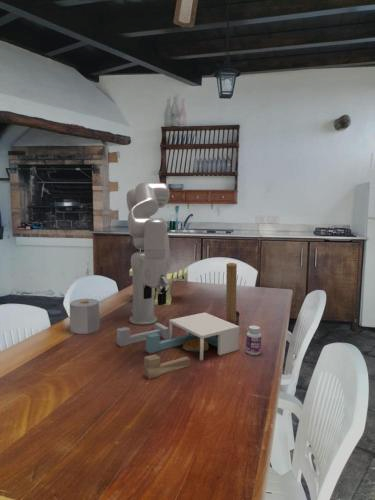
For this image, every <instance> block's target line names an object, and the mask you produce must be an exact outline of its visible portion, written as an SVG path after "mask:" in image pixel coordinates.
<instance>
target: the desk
mask: <svg viewBox="0 0 375 500" xmlns="http://www.w3.org/2000/svg"><path fill="white" fill-rule="evenodd" d="M225 320H226V319H225ZM225 320H224V319H221V318H219V317H217V316H214V315H213V314H210V313H208V312H200V313H196V314H191V315H185V316H182V317H176V318H170V319H168V323H169V338H168V339H172V338H174V337H173V336H174V334H173V333H174V332H173V331H174V329H173V328H174V326H175V327H178V328H180V329H182V330H184V331H185V332H186V335H188V334H193V335H195V336H197V337H199V338H200V351H199V361H204V352H205V351H204V338H207V337H211V336H214V335H218V347H217V355H219V356H222V355H226V354H229V353H232V352H235V351H239V349H240V343H239V342H240V325H238V326H237V325H235V324H232V323H230V322H227V321H225Z"/></svg>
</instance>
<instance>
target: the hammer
mask: <svg viewBox="0 0 375 500" xmlns="http://www.w3.org/2000/svg"><path fill="white" fill-rule="evenodd" d="M237 267H238V265H237V263H235V262H228V263H226V285H225V286H226V293H225V294H226V299H225V300H226V301H225V302H226V306H225V307H226V310H225V311H226V313H225V314H226V318H225V321H227V322H230V323H232V324H235V325H237V326H239V320H240V319H239V318H240V312H239V311H238V310H237V271H238V270H237V269H238V268H237Z"/></svg>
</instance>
